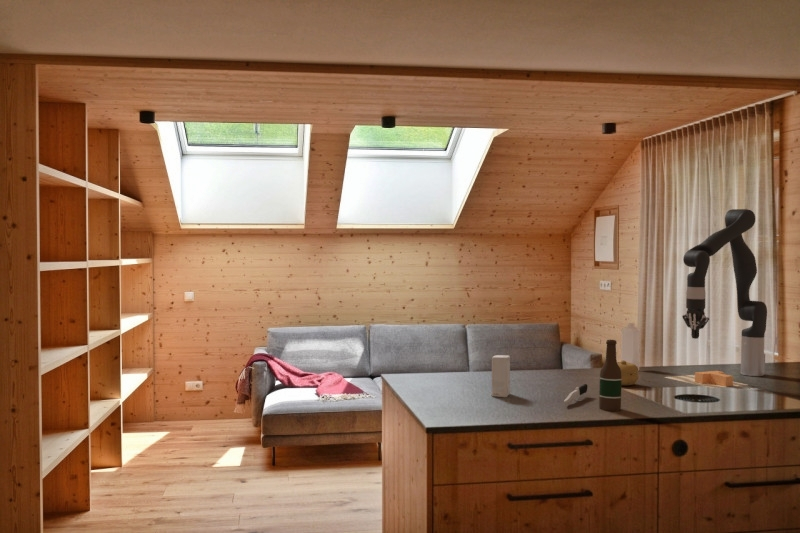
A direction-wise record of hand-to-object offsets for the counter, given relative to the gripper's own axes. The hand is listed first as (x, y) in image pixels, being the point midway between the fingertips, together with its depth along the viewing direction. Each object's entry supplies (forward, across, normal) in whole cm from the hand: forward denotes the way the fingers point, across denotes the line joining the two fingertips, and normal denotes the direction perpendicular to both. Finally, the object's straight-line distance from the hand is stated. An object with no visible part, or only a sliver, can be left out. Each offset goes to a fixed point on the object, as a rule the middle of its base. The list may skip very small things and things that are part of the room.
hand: (695, 338), depth 307 cm
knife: (+18, -16, +75) cm, 79 cm away
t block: (+17, -12, +1) cm, 21 cm away
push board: (+18, -6, 0) cm, 19 cm away
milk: (+18, +30, +8) cm, 36 cm away
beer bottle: (+18, -30, +71) cm, 79 cm away
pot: (+18, +4, +35) cm, 40 cm away
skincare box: (+17, +4, +94) cm, 96 cm away
